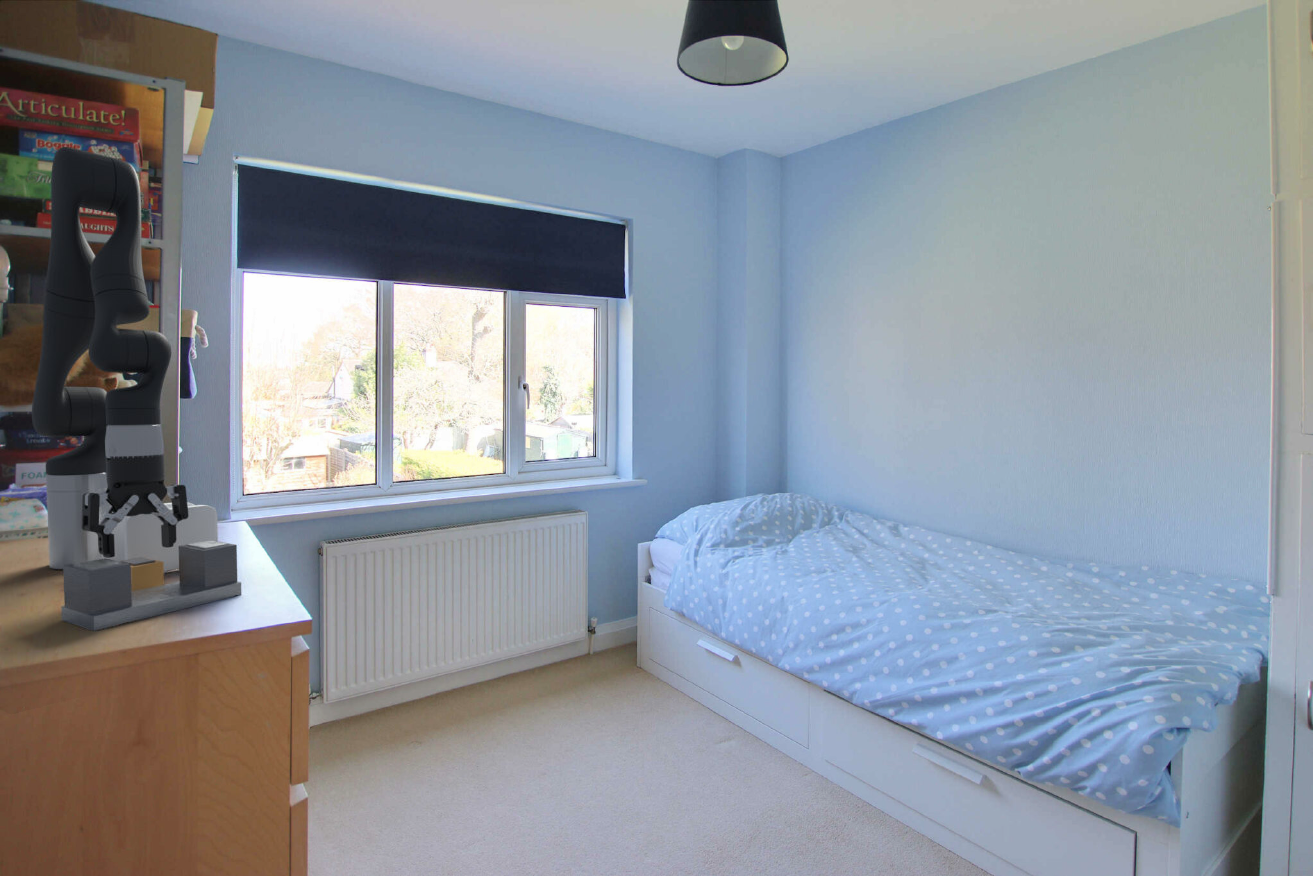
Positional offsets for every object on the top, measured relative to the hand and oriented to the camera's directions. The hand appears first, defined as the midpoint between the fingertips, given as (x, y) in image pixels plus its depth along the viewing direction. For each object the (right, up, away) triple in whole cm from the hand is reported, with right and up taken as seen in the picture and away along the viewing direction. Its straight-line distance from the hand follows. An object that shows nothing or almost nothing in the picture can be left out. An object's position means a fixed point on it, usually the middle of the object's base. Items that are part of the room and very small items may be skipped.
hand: (139, 551), depth 112 cm
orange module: (-1, -7, +1) cm, 7 cm away
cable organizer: (-7, -6, +15) cm, 17 cm away
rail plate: (+9, -7, -8) cm, 14 cm away
